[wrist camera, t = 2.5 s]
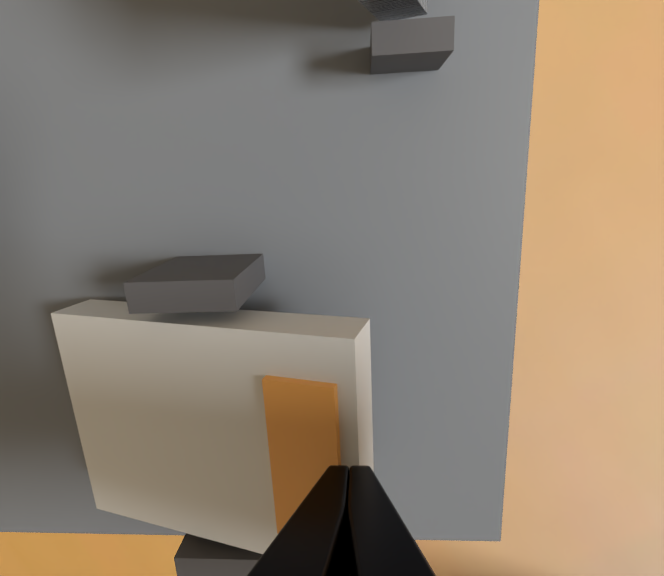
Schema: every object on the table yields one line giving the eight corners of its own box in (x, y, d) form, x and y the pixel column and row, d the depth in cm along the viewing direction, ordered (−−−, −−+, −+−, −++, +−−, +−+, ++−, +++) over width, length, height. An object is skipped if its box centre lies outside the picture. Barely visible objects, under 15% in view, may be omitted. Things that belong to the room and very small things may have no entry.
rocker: (369, 318, 9) (351, 343, 8) (375, 540, 11) (361, 589, 10) (90, 299, 12) (43, 315, 11) (127, 480, 14) (90, 514, 12)
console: (507, -135, 11) (655, -443, 6) (476, 476, 17) (537, 641, 11) (-290, -53, 13) (-788, -221, 8) (-95, 471, 18) (-303, 610, 13)
